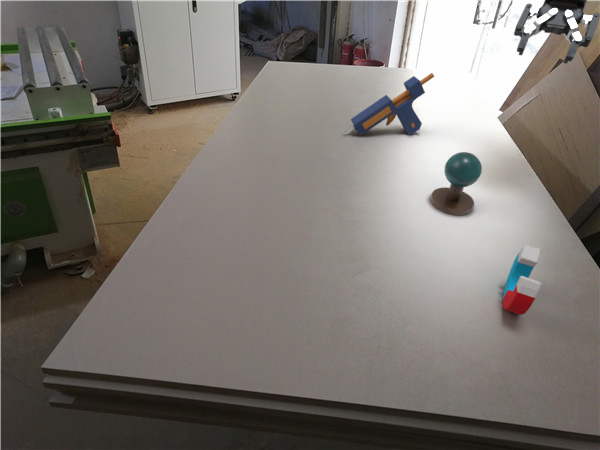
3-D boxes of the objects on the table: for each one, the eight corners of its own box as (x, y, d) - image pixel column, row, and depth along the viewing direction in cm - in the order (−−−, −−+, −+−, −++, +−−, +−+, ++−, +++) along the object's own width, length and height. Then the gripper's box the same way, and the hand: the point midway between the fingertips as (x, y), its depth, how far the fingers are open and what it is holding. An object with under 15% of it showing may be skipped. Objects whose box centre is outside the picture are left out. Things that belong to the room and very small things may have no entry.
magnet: (504, 279, 79) (524, 240, 72) (519, 284, 78) (541, 245, 72) (500, 323, 70) (523, 282, 64) (517, 329, 69) (542, 288, 63)
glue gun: (360, 159, 135) (339, 126, 126) (438, 102, 131) (422, 64, 122) (368, 167, 131) (347, 134, 121) (449, 108, 126) (433, 69, 117)
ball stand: (475, 200, 101) (494, 151, 92) (467, 220, 94) (487, 169, 85) (436, 188, 104) (451, 140, 96) (425, 206, 97) (440, 156, 89)
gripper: (537, -31, 83) (509, 39, 82) (618, -23, 77) (588, 52, 76) (529, -5, 90) (503, 60, 89) (602, 5, 84) (576, 74, 83)
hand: (543, 57), depth 83 cm, fingers open, 8 cm apart
